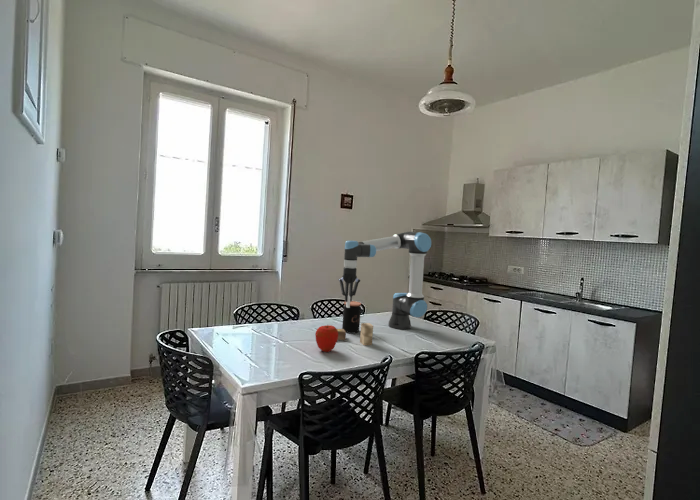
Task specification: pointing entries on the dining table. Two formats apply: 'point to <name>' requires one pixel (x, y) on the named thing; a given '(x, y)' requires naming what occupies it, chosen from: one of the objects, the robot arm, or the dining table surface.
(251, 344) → the dining table surface
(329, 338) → the apple
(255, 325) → the dining table surface
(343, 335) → the walnut block
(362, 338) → the beech block
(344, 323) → the coffee jar
